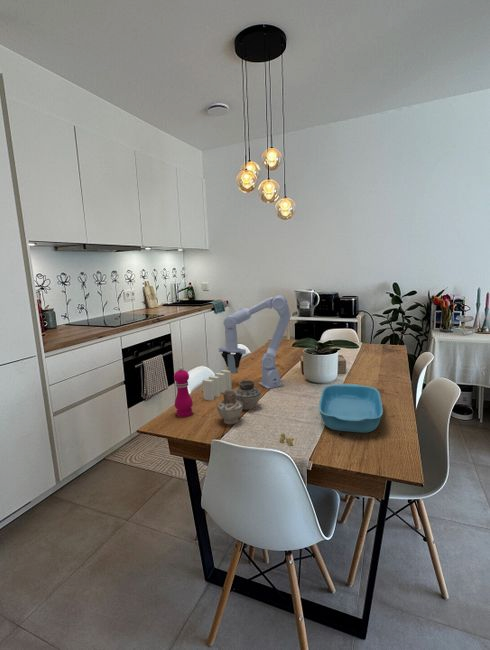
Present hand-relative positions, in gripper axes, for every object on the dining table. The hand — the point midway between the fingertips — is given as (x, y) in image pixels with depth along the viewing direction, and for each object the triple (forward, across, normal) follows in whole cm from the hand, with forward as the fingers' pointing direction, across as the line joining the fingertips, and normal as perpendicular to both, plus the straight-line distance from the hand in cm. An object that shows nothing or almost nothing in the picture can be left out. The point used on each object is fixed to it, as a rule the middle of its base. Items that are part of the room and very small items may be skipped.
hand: (232, 366), depth 173 cm
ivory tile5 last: (+9, 0, +21) cm, 23 cm away
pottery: (+9, -20, +28) cm, 36 cm away
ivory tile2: (+9, 0, +6) cm, 11 cm away
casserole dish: (+9, -60, +12) cm, 62 cm away
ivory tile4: (+9, 0, +16) cm, 18 cm away
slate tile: (+3, 0, 0) cm, 3 cm away
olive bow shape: (+10, -46, +40) cm, 62 cm away
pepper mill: (+9, 0, +38) cm, 39 cm away
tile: (+9, 0, +11) cm, 14 cm away
